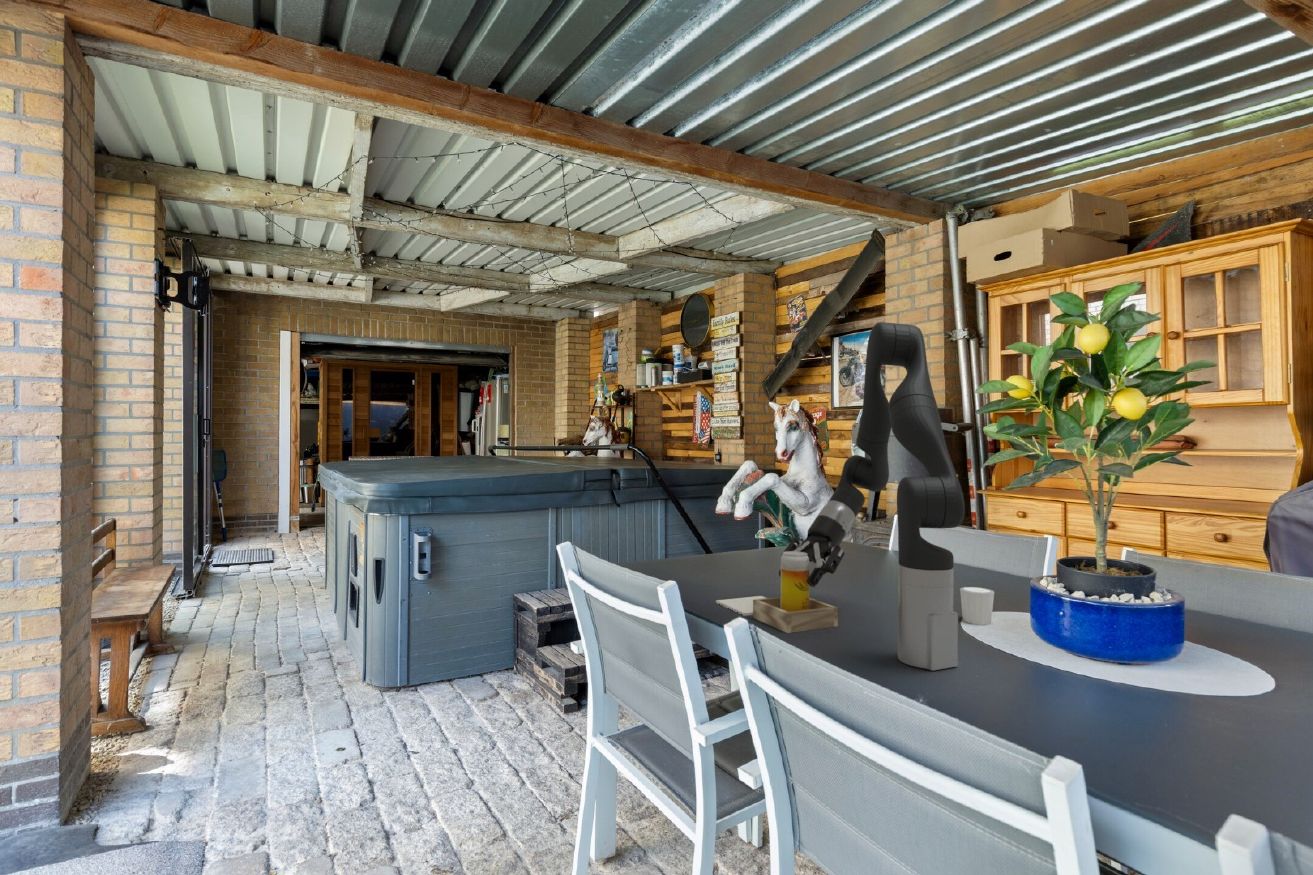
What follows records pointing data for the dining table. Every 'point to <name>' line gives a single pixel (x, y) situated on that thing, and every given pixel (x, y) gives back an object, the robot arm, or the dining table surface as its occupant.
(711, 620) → the dining table surface
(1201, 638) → the dining table surface
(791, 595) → the beer can
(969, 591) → the white cup
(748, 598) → the mat
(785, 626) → the crate
